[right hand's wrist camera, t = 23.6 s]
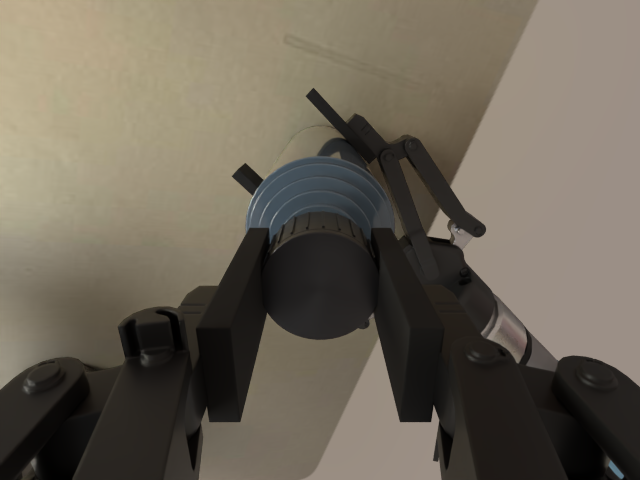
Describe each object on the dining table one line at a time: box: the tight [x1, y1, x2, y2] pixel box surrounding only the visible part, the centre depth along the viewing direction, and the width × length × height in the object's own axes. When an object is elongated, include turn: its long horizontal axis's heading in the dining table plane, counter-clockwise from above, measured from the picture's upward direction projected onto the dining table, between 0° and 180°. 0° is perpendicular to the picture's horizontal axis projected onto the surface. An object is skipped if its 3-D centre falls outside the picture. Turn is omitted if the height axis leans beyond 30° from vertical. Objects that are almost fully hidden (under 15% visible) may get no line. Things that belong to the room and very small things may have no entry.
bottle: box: [246, 126, 395, 244], centre depth 24 cm, size 7×7×23 cm
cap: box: [261, 211, 379, 340], centre depth 13 cm, size 4×4×2 cm
